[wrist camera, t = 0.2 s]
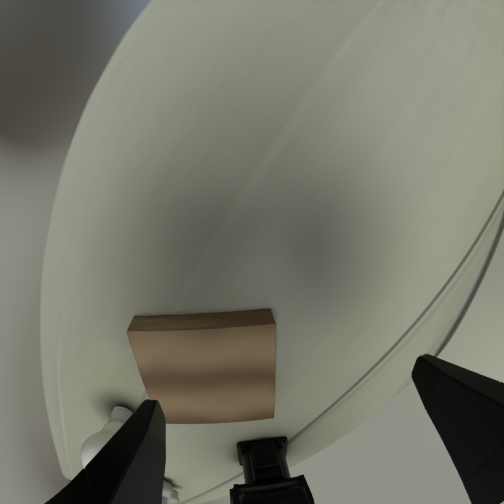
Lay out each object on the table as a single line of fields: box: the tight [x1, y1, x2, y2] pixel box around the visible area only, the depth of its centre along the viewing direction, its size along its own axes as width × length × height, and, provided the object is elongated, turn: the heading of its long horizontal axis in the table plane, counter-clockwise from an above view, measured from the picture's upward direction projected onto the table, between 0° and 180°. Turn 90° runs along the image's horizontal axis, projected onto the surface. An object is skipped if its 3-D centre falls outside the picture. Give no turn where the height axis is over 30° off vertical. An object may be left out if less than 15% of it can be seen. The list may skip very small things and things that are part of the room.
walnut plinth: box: [127, 309, 276, 424], centre depth 23 cm, size 12×12×2 cm
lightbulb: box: [80, 406, 133, 469], centre depth 20 cm, size 6×6×11 cm
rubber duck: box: [162, 481, 179, 504], centre depth 28 cm, size 5×7×8 cm
